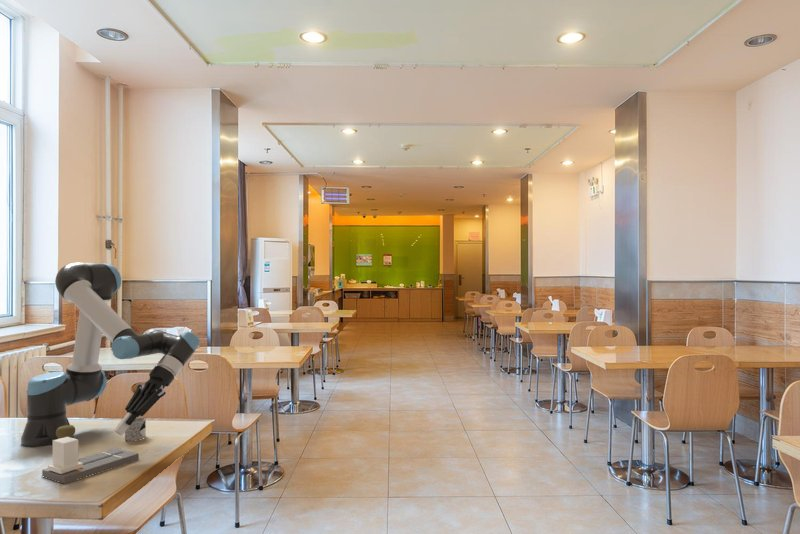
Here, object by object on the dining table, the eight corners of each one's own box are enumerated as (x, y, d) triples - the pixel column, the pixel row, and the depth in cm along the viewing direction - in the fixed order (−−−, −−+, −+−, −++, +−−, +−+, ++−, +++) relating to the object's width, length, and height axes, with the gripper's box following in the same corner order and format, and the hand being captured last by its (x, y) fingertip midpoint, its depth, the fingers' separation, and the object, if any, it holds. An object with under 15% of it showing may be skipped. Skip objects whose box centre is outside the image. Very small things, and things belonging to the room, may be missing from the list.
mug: (144, 440, 183) (144, 421, 183) (123, 442, 181) (123, 423, 181) (147, 432, 193) (147, 414, 193) (127, 434, 190) (127, 416, 190)
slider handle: (69, 463, 154) (69, 435, 154) (82, 467, 150) (82, 438, 150) (47, 469, 148) (47, 441, 149) (60, 473, 145) (60, 444, 145)
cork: (81, 458, 164) (81, 424, 165) (63, 465, 159) (63, 429, 159) (67, 456, 166) (67, 422, 167) (49, 463, 161) (49, 427, 161)
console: (116, 453, 168) (116, 447, 169) (138, 459, 162) (138, 452, 163) (42, 476, 149) (42, 469, 149) (64, 484, 143) (64, 476, 143)
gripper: (184, 379, 176) (138, 442, 161) (161, 375, 182) (114, 435, 168) (170, 366, 171) (121, 429, 157) (147, 363, 178) (97, 423, 163)
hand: (117, 432), depth 162 cm, fingers closed
